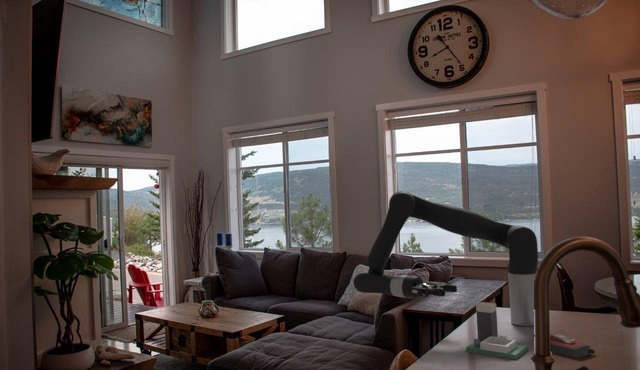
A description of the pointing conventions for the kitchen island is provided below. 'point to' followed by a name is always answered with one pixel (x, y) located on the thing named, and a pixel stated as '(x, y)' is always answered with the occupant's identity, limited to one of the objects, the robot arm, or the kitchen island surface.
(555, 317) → the kitchen island surface
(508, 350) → the controller board
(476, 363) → the kitchen island surface
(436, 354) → the kitchen island surface
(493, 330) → the grey and cream block
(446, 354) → the kitchen island surface
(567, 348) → the walkie-talkie
